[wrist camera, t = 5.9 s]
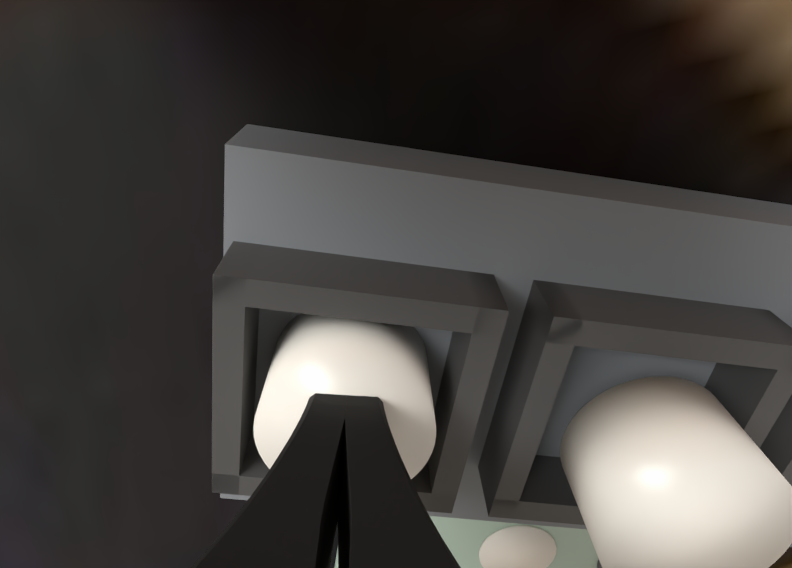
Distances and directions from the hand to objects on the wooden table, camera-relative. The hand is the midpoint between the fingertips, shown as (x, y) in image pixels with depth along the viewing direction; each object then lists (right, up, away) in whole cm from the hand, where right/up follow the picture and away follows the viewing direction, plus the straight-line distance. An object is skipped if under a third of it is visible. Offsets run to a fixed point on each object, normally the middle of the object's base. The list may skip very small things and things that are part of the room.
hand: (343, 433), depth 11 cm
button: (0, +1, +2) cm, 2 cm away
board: (+6, +1, +4) cm, 8 cm away
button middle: (+6, -1, +1) cm, 7 cm away
